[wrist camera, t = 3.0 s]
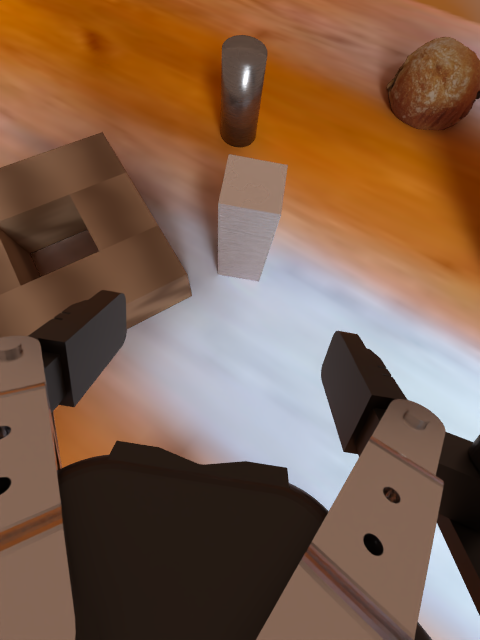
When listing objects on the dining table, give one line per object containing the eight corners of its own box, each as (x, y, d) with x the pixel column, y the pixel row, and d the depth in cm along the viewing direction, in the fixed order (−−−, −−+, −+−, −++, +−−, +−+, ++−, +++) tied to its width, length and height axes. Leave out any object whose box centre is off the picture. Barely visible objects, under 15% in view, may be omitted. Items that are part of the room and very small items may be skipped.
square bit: (264, 245, 29) (287, 165, 19) (258, 281, 28) (281, 214, 18) (224, 238, 29) (228, 154, 19) (217, 274, 28) (218, 203, 18)
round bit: (244, 116, 34) (252, 30, 26) (262, 139, 33) (275, 58, 25) (214, 127, 33) (213, 42, 25) (232, 151, 32) (237, 71, 24)
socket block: (118, 171, 30) (102, 132, 26) (192, 295, 27) (187, 274, 22) (-45, 234, 27) (-95, 200, 22) (15, 386, 23) (-31, 380, 19)
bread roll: (385, 99, 42) (391, 32, 35) (473, 81, 38) (499, 1, 31) (381, 151, 39) (387, 88, 32) (476, 137, 35) (506, 62, 28)
